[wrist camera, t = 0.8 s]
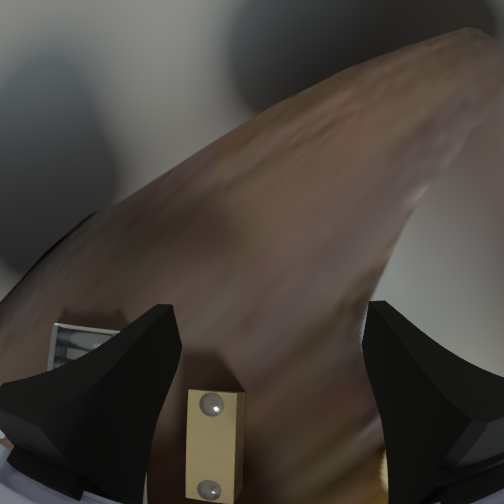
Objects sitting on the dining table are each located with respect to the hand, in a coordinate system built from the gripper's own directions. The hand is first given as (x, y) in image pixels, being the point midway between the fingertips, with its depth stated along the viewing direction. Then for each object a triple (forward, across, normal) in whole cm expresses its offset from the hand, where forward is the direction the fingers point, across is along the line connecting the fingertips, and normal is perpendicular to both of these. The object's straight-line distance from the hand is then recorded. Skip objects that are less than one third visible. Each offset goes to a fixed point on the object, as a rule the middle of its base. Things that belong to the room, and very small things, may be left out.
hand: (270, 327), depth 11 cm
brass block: (+5, +4, +16) cm, 17 cm away
